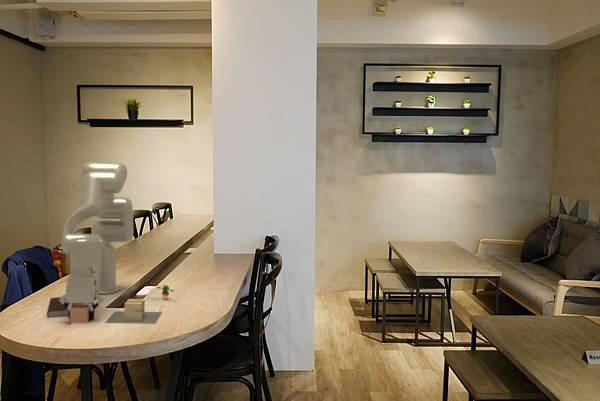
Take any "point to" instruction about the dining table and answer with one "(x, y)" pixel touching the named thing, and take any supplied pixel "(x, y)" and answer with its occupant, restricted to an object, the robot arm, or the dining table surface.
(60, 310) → the book
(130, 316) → the maple block
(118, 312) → the plate
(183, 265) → the dining table surface
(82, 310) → the terracotta block
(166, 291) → the toy character
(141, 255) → the dining table surface
